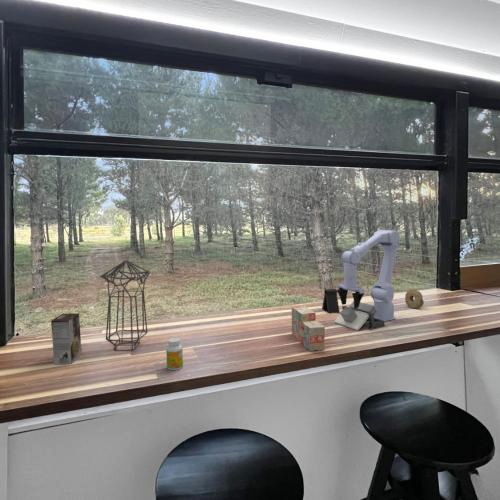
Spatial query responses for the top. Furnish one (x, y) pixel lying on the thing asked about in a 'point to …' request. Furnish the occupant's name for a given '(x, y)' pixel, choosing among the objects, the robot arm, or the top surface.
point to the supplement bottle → (174, 354)
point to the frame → (372, 320)
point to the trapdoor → (360, 316)
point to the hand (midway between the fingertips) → (350, 306)
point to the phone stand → (330, 301)
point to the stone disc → (418, 299)
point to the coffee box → (66, 338)
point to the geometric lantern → (122, 265)
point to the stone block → (348, 314)
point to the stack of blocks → (307, 328)
